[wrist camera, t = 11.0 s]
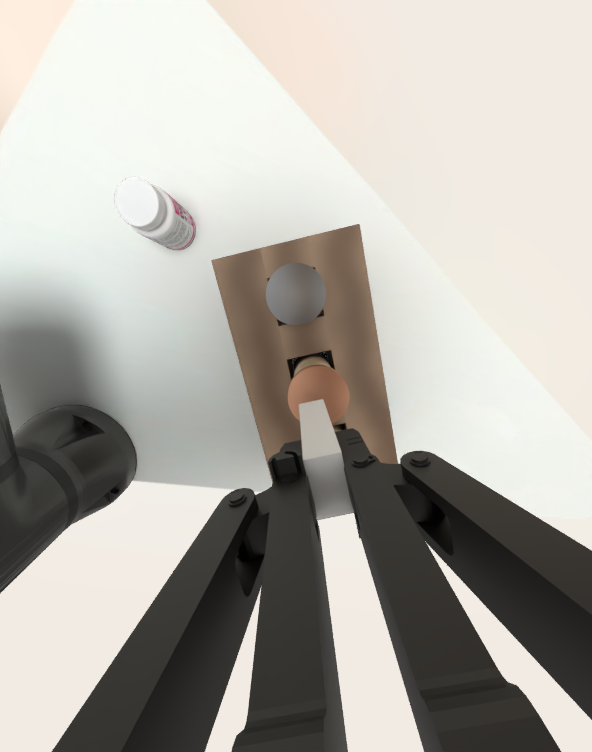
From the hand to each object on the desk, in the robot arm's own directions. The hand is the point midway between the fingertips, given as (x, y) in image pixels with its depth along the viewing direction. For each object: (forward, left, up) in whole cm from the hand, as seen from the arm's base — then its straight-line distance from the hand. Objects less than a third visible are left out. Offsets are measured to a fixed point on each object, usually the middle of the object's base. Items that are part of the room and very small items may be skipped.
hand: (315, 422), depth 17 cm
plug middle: (0, 0, -17) cm, 17 cm away
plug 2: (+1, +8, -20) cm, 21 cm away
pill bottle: (-11, +19, -20) cm, 30 cm away
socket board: (+1, 0, -20) cm, 20 cm away
